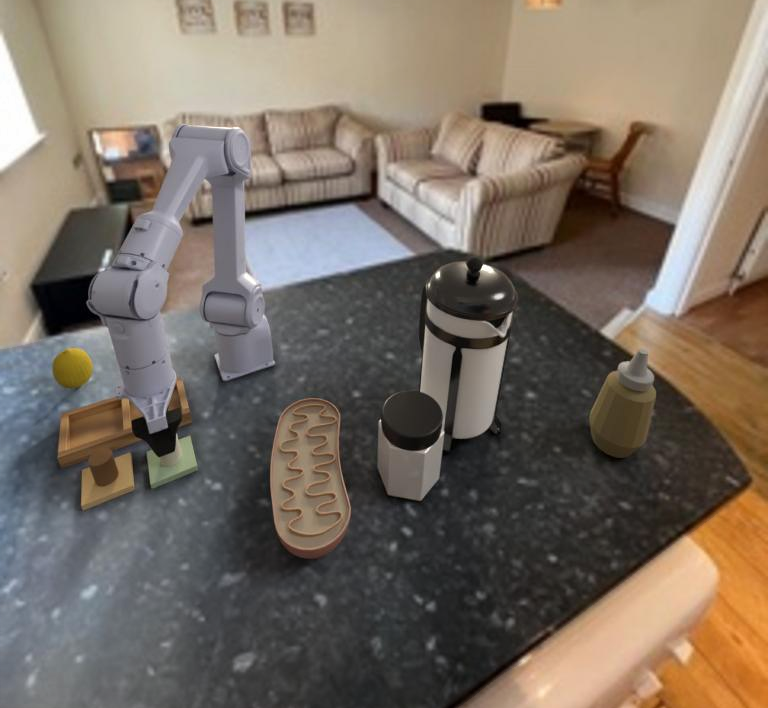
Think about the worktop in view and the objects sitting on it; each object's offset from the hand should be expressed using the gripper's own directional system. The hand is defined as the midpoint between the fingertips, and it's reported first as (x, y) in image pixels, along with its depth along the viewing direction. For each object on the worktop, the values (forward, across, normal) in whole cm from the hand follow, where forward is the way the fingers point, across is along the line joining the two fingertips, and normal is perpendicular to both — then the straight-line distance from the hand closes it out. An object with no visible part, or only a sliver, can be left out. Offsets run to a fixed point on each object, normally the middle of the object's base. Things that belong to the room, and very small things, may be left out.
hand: (163, 432), depth 62 cm
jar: (+6, +18, +29) cm, 35 cm away
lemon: (+6, -24, -12) cm, 27 cm away
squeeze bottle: (+6, +29, +60) cm, 67 cm away
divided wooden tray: (+6, -11, -5) cm, 13 cm away
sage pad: (+6, 0, 0) cm, 6 cm away
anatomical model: (+6, +13, +16) cm, 22 cm away
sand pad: (+6, -1, -8) cm, 10 cm away
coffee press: (+6, +12, +41) cm, 43 cm away
